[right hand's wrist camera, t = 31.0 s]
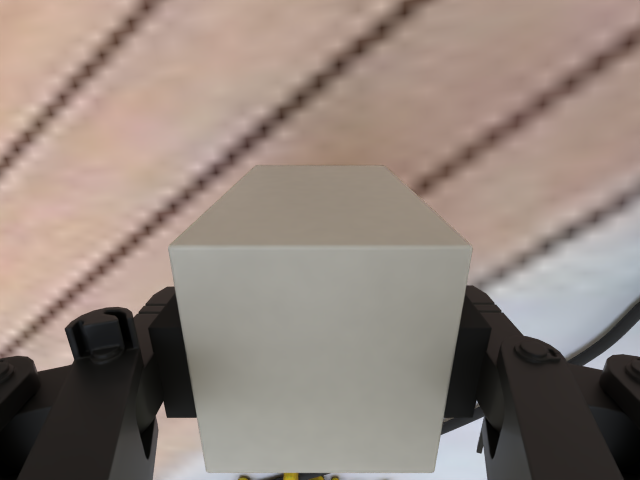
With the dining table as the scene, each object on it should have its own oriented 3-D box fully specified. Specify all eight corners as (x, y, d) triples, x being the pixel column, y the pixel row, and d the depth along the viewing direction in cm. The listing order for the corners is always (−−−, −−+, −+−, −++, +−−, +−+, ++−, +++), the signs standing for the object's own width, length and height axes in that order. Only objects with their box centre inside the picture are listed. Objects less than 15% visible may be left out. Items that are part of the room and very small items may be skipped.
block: (377, 288, 19) (435, 474, 9) (263, 289, 19) (205, 474, 9) (385, 165, 17) (475, 245, 7) (254, 165, 17) (165, 245, 7)
